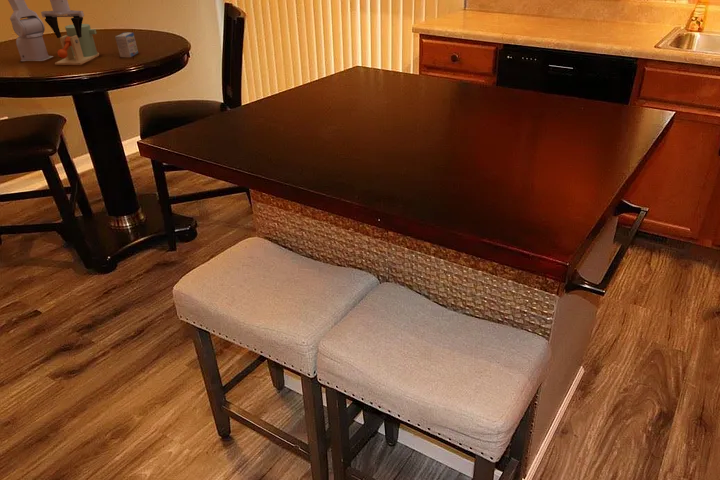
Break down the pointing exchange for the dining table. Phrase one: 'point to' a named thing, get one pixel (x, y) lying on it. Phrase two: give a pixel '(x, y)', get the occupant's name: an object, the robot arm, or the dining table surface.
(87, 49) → the kettle
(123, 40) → the medicine box
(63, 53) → the switch
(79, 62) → the switch bracket
